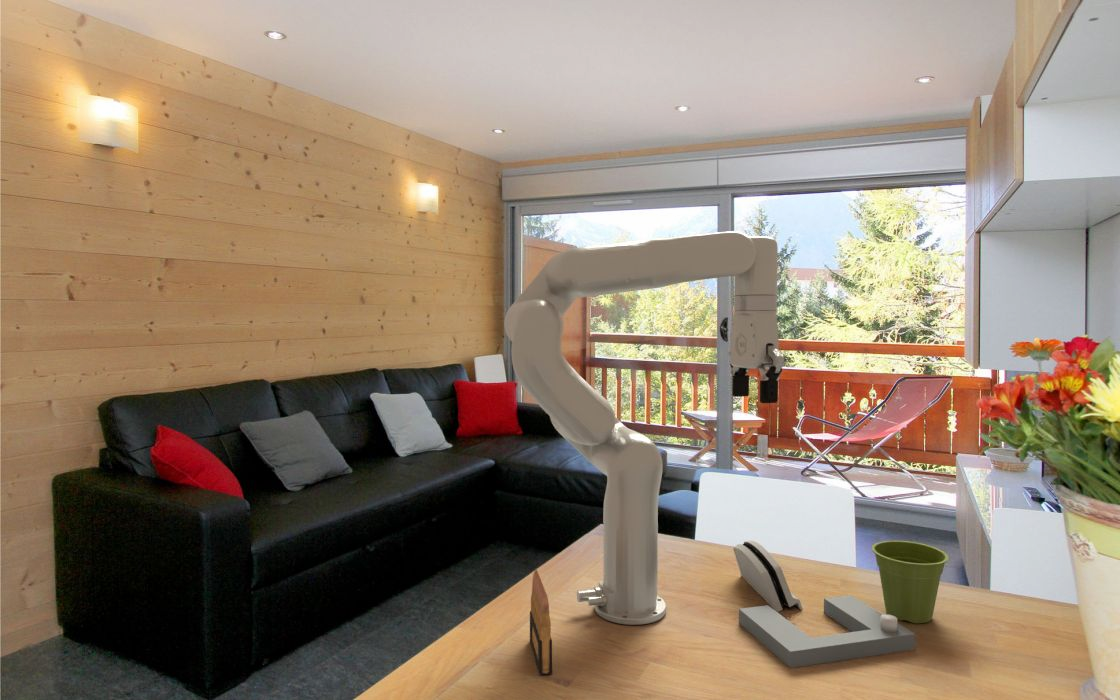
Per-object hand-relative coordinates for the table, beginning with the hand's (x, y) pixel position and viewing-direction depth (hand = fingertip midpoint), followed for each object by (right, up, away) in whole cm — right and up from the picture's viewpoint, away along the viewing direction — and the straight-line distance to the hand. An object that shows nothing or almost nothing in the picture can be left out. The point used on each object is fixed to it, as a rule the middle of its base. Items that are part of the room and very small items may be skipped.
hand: (754, 399), depth 124 cm
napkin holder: (-39, -38, -20) cm, 58 cm away
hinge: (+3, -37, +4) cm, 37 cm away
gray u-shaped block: (+7, -37, -14) cm, 41 cm away
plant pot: (+25, -37, -6) cm, 45 cm away
